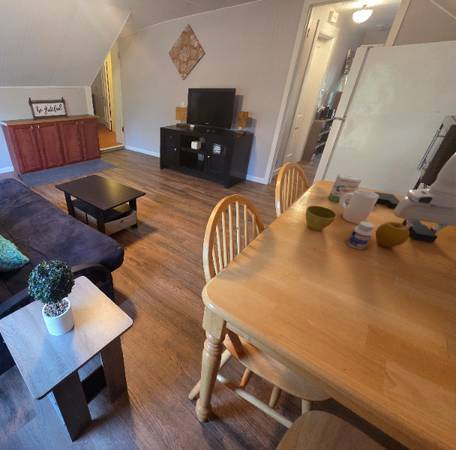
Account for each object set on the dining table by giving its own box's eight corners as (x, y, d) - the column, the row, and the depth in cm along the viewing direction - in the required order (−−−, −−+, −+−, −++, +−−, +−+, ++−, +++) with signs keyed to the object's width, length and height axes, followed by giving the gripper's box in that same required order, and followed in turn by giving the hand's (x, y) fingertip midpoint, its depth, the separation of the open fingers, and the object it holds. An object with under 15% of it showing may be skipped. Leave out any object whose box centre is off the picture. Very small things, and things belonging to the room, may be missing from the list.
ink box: (330, 200, 119) (339, 177, 113) (328, 196, 123) (337, 174, 117) (350, 203, 116) (362, 180, 110) (348, 199, 120) (359, 176, 114)
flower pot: (327, 237, 92) (335, 221, 88) (298, 228, 97) (304, 212, 93) (330, 226, 99) (338, 210, 95) (303, 218, 104) (309, 203, 100)
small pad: (417, 226, 99) (421, 221, 98) (433, 242, 89) (437, 236, 88) (399, 223, 101) (402, 218, 99) (413, 238, 91) (417, 233, 90)
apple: (403, 255, 83) (418, 233, 79) (372, 247, 87) (385, 226, 82) (397, 242, 90) (410, 221, 85) (368, 235, 93) (380, 215, 88)
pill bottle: (349, 239, 91) (359, 218, 87) (366, 245, 88) (378, 224, 83) (345, 244, 88) (356, 224, 83) (362, 251, 85) (375, 230, 80)
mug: (340, 209, 111) (351, 184, 105) (369, 221, 103) (383, 195, 96) (329, 213, 108) (340, 188, 102) (358, 225, 99) (372, 199, 93)
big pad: (390, 198, 121) (393, 194, 120) (400, 209, 111) (403, 204, 110) (357, 194, 125) (359, 189, 124) (364, 204, 116) (366, 199, 114)
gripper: (475, 199, 85) (450, 231, 92) (403, 190, 91) (384, 221, 99) (488, 206, 80) (460, 241, 87) (410, 196, 86) (390, 229, 94)
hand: (419, 230), depth 93 cm, fingers closed on small pad, 6 cm apart
